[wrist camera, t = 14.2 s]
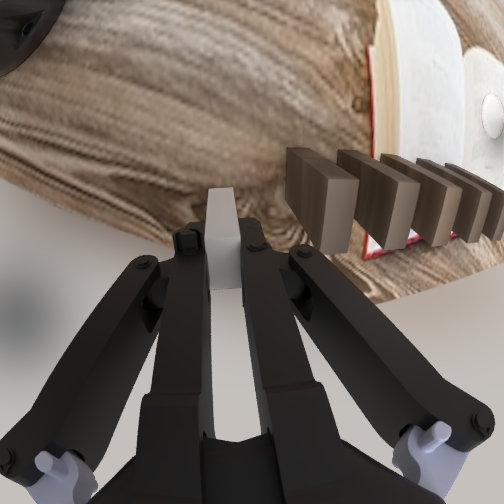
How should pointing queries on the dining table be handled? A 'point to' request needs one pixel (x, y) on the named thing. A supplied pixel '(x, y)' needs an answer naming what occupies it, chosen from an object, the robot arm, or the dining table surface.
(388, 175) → the domino
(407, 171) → the domino
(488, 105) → the champagne flute
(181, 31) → the dining table surface
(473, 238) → the domino
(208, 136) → the dining table surface
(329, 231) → the domino
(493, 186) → the domino
